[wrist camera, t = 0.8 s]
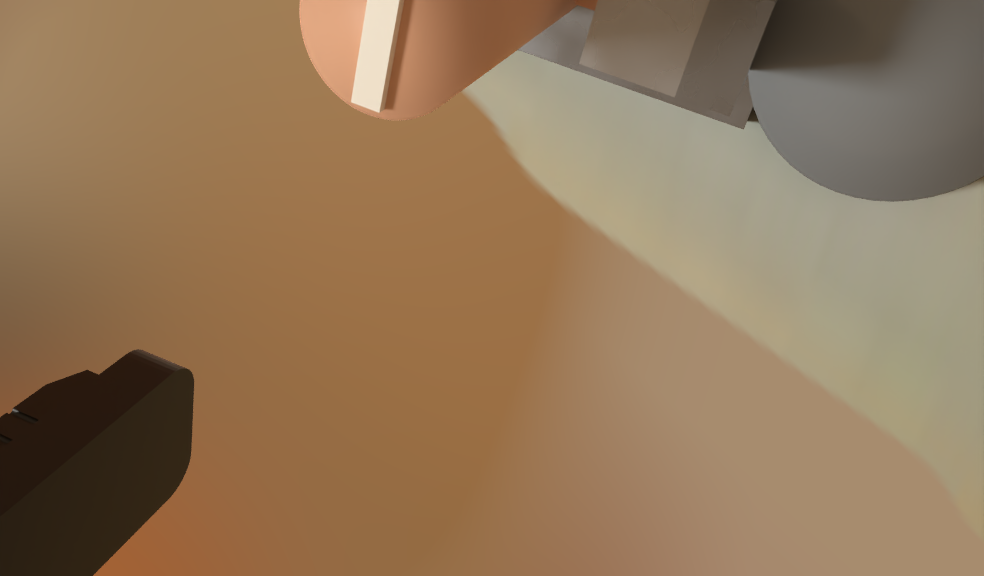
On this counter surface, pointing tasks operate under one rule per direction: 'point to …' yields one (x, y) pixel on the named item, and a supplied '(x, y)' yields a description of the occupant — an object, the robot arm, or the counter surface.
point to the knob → (417, 46)
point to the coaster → (875, 94)
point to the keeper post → (665, 50)
